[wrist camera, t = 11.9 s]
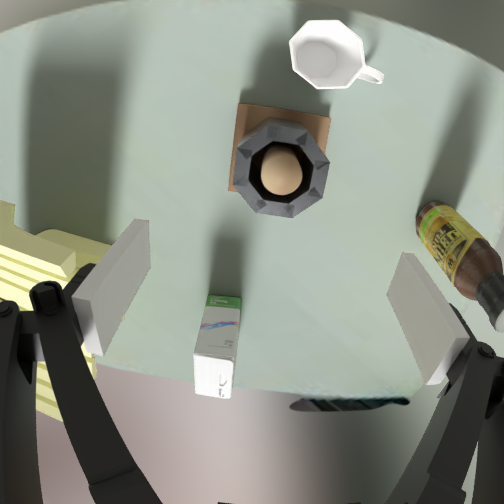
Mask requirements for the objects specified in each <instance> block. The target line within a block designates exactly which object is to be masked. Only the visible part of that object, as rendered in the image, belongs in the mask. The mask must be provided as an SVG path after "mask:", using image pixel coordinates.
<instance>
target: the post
mask: <svg viewBox="0 0 504 504" xmlns="http://www.w3.org/2000/svg"><path fill="white" fill-rule="evenodd" d="M267 117H273V118H279V119H286V120H292V121H298V122H300V123H301V124H302V125H303V126H304V127H305V129H306V130H307V131H308V132H309V133H310V135H311V136H312V138H313V139H314V140H315V142H316V143H317V145H318V146H319V147H320V149H321V150H322V152H323V153H324V154H325V149H326V144H327V139H328V133H329V128H330V122H331V118H330V117H326V116H321V115H315V114H310V113H305V112H299V111H293V110H287V109H280V108H273V107H266V106H259V105H251V104H243V103H239V104H238V110H237V118H236V126H235V134H234V143H233V151H232V160H231V169H230V178H229V187H228V191H234V192H238V191H237V190H236V188H235V187H234V186H233V176H234V167H235V159H236V150H237V147H238V145H239V143H240V141H241V139H242V137H243V135H244V134H245V133H247V132H248V131H249V130H251V129H252V128H254V127H255V126H256V125H258V124H259V123H260V122H262V121H263V120H265V119H266V118H267ZM303 153H304V151H303V150H302V148H301V147H300V145H297V144H291V143H285V142H278V141H271V142H270V143H269V144H267V145H266V146H264V147H263V148H262V149H260V150H259V151H258V152H256V153H255V154H253V159H252V161H253V162H254V164H255V165H256V166H257V167H258V169H259V170H260V171H261V178H262V182H263V184H264V186H265V187H266V188H267V189H268V190H269V191H270V192H272V193H274V194H278V195H286V194H289V193H292V192H293V191H295V190H296V189H297V188H298V187H299V185H300V183H301V180H302V170H301V164H302V159H303Z"/></svg>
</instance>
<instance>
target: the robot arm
mask: <svg viewBox="0 0 504 504" xmlns="http://www.w3.org/2000/svg"><path fill="white" fill-rule="evenodd" d="M150 268H151V266H150V243H149V220H141V219H134V220H133V222H132V223H131V224H130V225H129V226H128V227H127V228H126V230H125V231H124V232H123V233H122V234H121V235H120V237H119V238H118V239H117V240H116V241H115V243H114V244H113V245H112V246H111V247H110V249H109V250H108V251H107V252H106V253H105V255H104V256H103V257H102V258H101V260H100V261H99V262H98V263H97V264H94V263H88V264H86V265H85V266H83V267H81V268H80V269H79V270H78V271H77V273H76V274H75V276H73V278H72V279H71V280H70V282H68V284H67V285H66V286H65V287H64V289H63V290H62V286H61V285H60V283H58V282H56V281H51V280H48V281H43V282H40V283H38V284H36V285H35V286H33V287H32V289H31V290H30V292H29V297H30V301H31V304H32V307H33V310H34V311H20V309H19V306H18V304H17V303H16V302H15V301H12V300H6V301H2V302H0V504H43V499H42V492H41V485H40V476H39V466H38V454H37V438H36V378H37V362H45V363H46V367H47V371H48V375H49V378H50V382H51V385H52V389H53V392H54V395H55V398H56V402H57V405H58V408H59V411H60V414H61V417H62V419H63V422H64V425H65V428H66V430H67V433H68V436H69V438H70V441H71V444H72V446H73V448H74V451H75V453H76V455H77V458H78V460H79V463H80V465H81V467H82V469H83V472H84V474H85V476H86V478H87V480H88V483H89V490H90V493H91V495H92V497H93V500H94V502H95V503H96V504H163V503H162V502H161V501H160V499H159V498H158V496H157V495H156V493H155V492H154V490H153V489H152V487H151V485H150V484H149V482H148V481H147V479H146V477H145V476H144V474H143V473H142V471H141V470H140V468H139V467H138V466H137V464H136V463H135V461H134V459H133V457H132V456H131V454H130V452H129V450H128V449H127V447H126V445H125V443H124V441H123V439H122V437H121V436H120V434H119V432H118V430H117V428H116V426H115V424H114V422H113V420H112V418H111V416H110V414H109V412H108V410H107V408H106V406H105V403H104V401H103V399H102V397H101V395H100V393H99V390H98V388H97V386H96V383H95V381H94V379H93V376H92V374H91V372H90V369H89V367H88V364H87V362H86V359H85V357H84V354H83V352H82V349H81V346H82V344H83V342H84V345H85V348H86V351H87V352H88V353H92V354H96V355H100V356H104V355H105V353H106V350H107V348H108V346H109V344H110V342H111V340H112V338H113V337H114V335H115V333H116V331H117V329H118V327H119V325H120V323H121V321H122V319H123V317H124V315H125V313H126V311H127V310H128V308H129V306H130V304H131V302H132V300H133V298H134V296H135V295H136V293H137V291H138V289H139V287H140V285H141V284H142V282H143V280H144V278H145V276H146V275H147V273H148V271H149V269H150ZM387 297H388V299H389V301H390V303H391V305H392V307H393V310H394V312H395V314H396V316H397V318H398V320H399V323H400V325H401V327H402V329H403V331H404V334H405V336H406V338H407V341H408V343H409V345H410V348H411V350H412V352H413V355H414V357H415V359H416V362H417V364H418V367H419V369H420V372H421V374H422V376H423V379H424V382H425V384H426V385H432V384H440V382H441V381H442V380H443V378H444V377H445V375H447V377H448V379H449V382H448V383H447V385H446V386H445V387H444V389H443V390H442V391H441V392H440V394H439V395H438V397H437V398H439V397H440V396H441V398H440V400H439V402H438V405H437V407H436V410H435V412H434V414H433V416H432V418H431V420H430V423H429V425H428V427H427V429H426V431H425V433H424V435H423V437H422V439H421V441H420V443H419V445H418V447H417V449H416V451H415V453H414V455H413V456H412V458H411V460H410V462H409V464H408V466H407V467H406V469H405V471H404V473H403V474H402V476H401V478H400V479H399V481H398V483H397V484H396V486H395V488H394V490H393V491H392V493H391V494H390V496H389V497H388V499H387V500H386V502H385V503H384V504H464V501H465V498H466V492H465V491H463V490H462V489H461V488H462V485H463V482H464V480H465V477H466V474H467V472H468V469H469V466H470V463H471V460H472V457H473V454H474V451H475V448H476V445H477V442H478V453H477V466H476V475H475V484H474V491H473V498H472V504H504V358H501V357H498V356H496V353H495V351H494V350H493V349H492V348H491V347H490V346H489V345H487V344H486V343H483V342H478V341H477V340H476V338H475V336H474V335H473V333H472V332H471V330H470V328H469V327H468V325H467V324H466V322H465V321H464V319H462V316H461V314H460V313H459V311H458V310H457V309H456V308H455V307H454V306H453V305H452V304H451V303H448V302H447V300H446V299H445V297H444V296H443V294H442V293H441V291H440V290H439V288H438V287H437V285H436V284H435V282H434V281H433V280H432V278H431V277H430V275H429V274H428V272H427V271H426V270H425V268H424V267H423V265H422V264H421V263H420V261H419V260H418V259H417V257H416V256H415V255H414V254H411V253H404V252H402V254H401V257H400V260H399V263H398V266H397V268H396V271H395V274H394V276H393V279H392V282H391V284H390V287H389V290H388V292H387ZM218 504H229V503H220V502H218ZM349 504H361V503H349Z"/></svg>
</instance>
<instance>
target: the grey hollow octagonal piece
mask: <svg viewBox="0 0 504 504" xmlns="http://www.w3.org/2000/svg"><path fill="white" fill-rule="evenodd" d="M271 141H278V142H285V143H291V144H297V145H300V147H301V148H302V150H303V151H304V153H303V159H302V164H301V170H302V180H301V183H300V185H299V187H298V188H297V189H296V190H295V191H293V192H292V193H289V194H286V195H278V194H274V193H272V192H270V191H269V190H268V189H267V188H266V187H265V186H264V184H263V182H262V178H261V171H260V170H259V169H258V167H257V166H256V165H255V164H254V162H253V161H252V159H253V154H255V153H256V152H258V151H259V150H260V149H262V148H263V147H264V146H266V145H267V144H269V143H270V142H271ZM329 164H330V162H329V160H328V159H327V157H326V156H325V155H324V153H323V152H322V150H321V149H320V147H319V146H318V145H317V143H316V142H315V140H314V139H313V138H312V136H311V135H310V133H309V132H308V131H307V130H306V129H305V127H304V126H303V125H302V124H301V123H300V122H298V121H292V120H286V119H279V118H273V117H267V118H266V119H265V120H263V121H262V122H260V123H259V124H258V125H256V126H255V127H254V128H252V129H251V130H249V131H248V132H247V133H245V134H244V135H243V137H242V139H241V141H240V143H239V145H238V147H237V150H236V159H235V167H234V176H233V186H234V187H235V188H236V190H237V191H238V192H239V193H240V194H241V196H242V197H243V198H244V199H245V200H246V202H247V203H248V204H249V205H250V207H251V208H252V209H253V210H254V211H255V213H260V214H268V215H275V216H282V217H289V218H293V217H294V216H296V215H297V214H299V213H300V212H302V211H303V210H305V209H306V208H308V207H309V206H311V205H312V204H314V203H315V202H317V201H319V200H320V199H322V198H323V193H324V188H325V183H326V179H327V174H328V169H329Z"/></svg>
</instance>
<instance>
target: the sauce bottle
mask: <svg viewBox="0 0 504 504" xmlns="http://www.w3.org/2000/svg"><path fill="white" fill-rule="evenodd" d="M416 232H417V235H418V236H419V237H420V239H421V241H422V243H423V244H424V245H425V247H426V248H427V249H428V251H429V252H430V253H431V255H432V256H433V257H434V259H435V260H436V261H437V263H438V264H439V265H440V267H441V268H442V269H443V271H444V272H445V274H446V275H447V277H448V278H449V279H450V281H451V282H452V284H453V285H454V286H455V287H456V288H457V290H458V291H459V292H460V293H461V294H462V295H463V296H465V297H466V298H468V299H471V300H477V301H478V302H479V304H480V305H481V306H482V307H483V308H484V310H485V311H486V313H487V314H488V316H489V319H490V322H491V324H492V326H493V327H494V329H495V330H496V331H498V332H501V333H503V332H504V275H503V268H502V261H501V258H500V256H499V255H498V253H497V252H496V251H495V250H494V249H493V248H492V247H491V246H490V244H489V242H488V241H487V240H486V239H485V238H484V237H483V236H482V235H481V234H480V233H479V232H478V231H477V230H475V229H474V228H473V227H472V226H471V225H470V224H469V223H468V222H467V221H466V220H465V219H464V218H463V217H462V216H461V215H459V214H458V213H457V212H456V211H455V210H454V209H453V208H451V207H450V206H449V205H447V204H445V203H443V202H441V201H433V202H431V203H429V204H428V205H426V206H424V207H423V209H422V210H421V211H420V213H419V215H418V216H417V219H416Z"/></svg>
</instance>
